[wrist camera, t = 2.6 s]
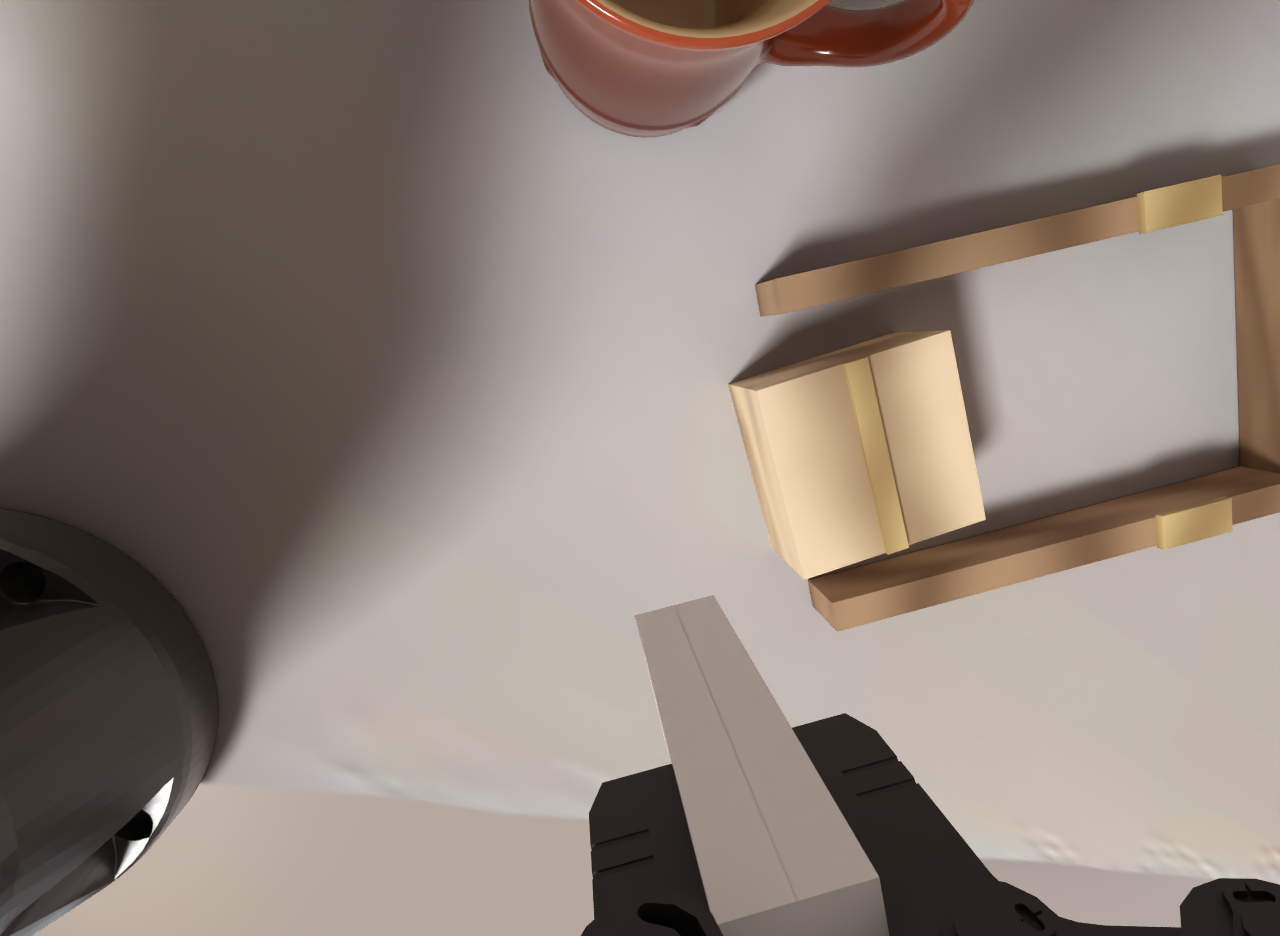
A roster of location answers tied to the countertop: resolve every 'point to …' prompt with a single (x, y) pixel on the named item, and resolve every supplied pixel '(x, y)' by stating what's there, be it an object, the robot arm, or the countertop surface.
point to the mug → (712, 49)
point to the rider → (860, 450)
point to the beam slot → (1167, 516)
